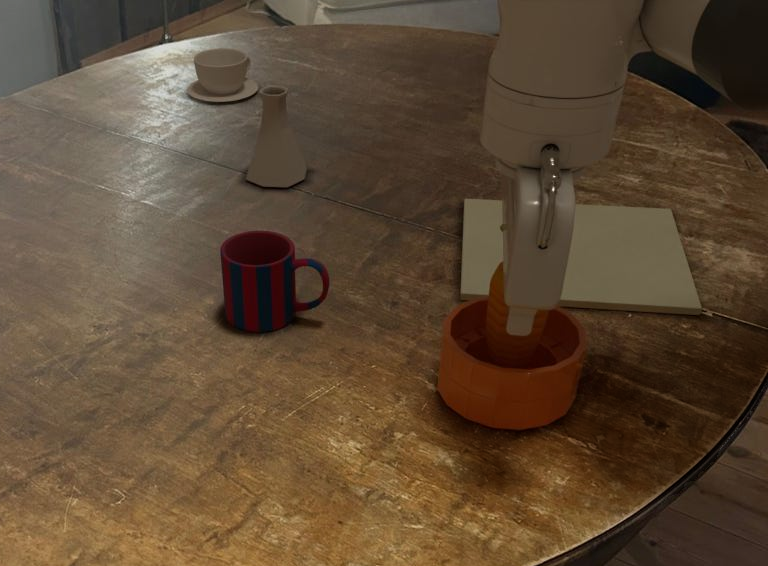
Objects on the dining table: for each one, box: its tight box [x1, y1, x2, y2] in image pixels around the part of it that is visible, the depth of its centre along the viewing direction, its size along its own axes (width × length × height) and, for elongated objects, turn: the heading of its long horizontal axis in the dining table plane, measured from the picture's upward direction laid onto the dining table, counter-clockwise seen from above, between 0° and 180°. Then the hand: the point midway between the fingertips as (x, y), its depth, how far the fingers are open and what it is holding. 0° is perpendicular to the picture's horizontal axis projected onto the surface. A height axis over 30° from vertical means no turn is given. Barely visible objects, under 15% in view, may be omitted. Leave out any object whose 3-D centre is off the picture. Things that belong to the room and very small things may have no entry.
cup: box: [219, 230, 330, 333], centre depth 85 cm, size 7×10×7 cm
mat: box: [459, 198, 703, 316], centre depth 94 cm, size 22×20×1 cm
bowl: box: [436, 296, 588, 431], centre depth 76 cm, size 11×11×6 cm
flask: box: [245, 84, 308, 188], centre depth 106 cm, size 7×7×10 cm
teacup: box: [186, 47, 259, 103], centre depth 128 cm, size 10×10×5 cm
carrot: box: [486, 224, 549, 369], centre depth 73 cm, size 5×5×15 cm
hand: (516, 296), depth 72 cm, fingers open, 8 cm apart
